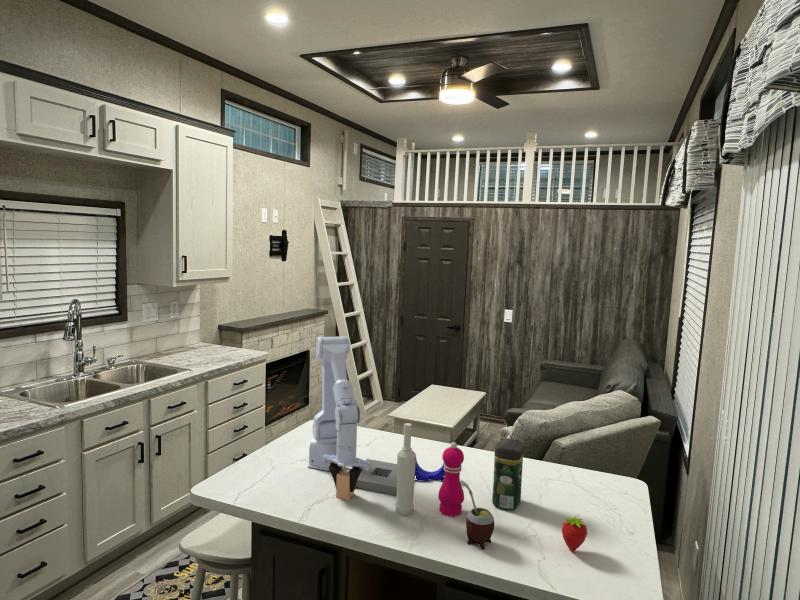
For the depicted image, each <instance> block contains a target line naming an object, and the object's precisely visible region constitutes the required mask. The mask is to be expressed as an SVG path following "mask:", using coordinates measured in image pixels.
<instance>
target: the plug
mask: <svg viewBox="0 0 800 600" xmlns="http://www.w3.org/2000/svg"><path fill="white" fill-rule="evenodd" d="M349 470H350V469H345V468H342V470H341V471H340V472H339V473H338V474H337V482H336V487H335V490H336V491H335V497H336V498H337V499H342V500H343V499H345V500H348V501H349V500H350V499H352V497H353V496H354V495H355V490H354V491H353V492H350V475H349Z"/></svg>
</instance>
